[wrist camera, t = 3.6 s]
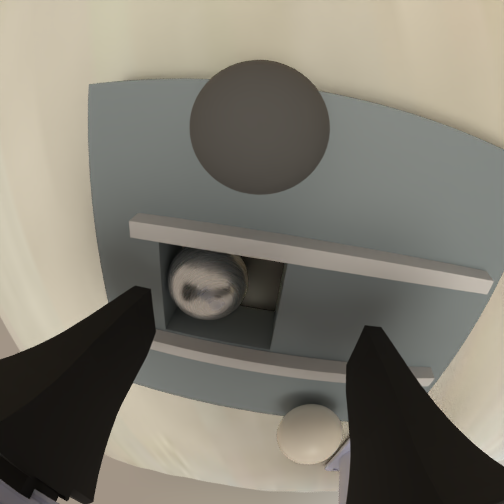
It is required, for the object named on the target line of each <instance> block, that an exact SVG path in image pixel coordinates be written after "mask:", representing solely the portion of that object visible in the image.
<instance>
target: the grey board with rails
mask: <svg viewBox="0 0 504 504" xmlns="http://www.w3.org/2000/svg"><path fill="white" fill-rule="evenodd" d="M209 80H210V79H147V80H130V81H117V82H106V83H97V84H89V94H88V146H89V167H90V182H91V194H92V204H93V213H94V222H95V229H96V237H97V243H98V250H99V256H100V262H101V268H102V273H103V279H104V284H105V289H106V294H107V298H108V303H109V302H111V301H112V300H114V299H115V298H117V297H118V296H120V295H121V294H123V293H124V292H126V291H127V290H129V289H130V288H132V287H133V286H135V285H136V286H140V287H145V288H149V289H151V294H152V303H153V311H154V319H155V327H156V334H155V336H154V339H153V342H152V345H151V347H150V350H149V352H148V355H147V357H146V359H145V361H144V363H143V365H142V367H141V368H140V370H139V372H138V374H137V376H136V378H135V380H134V382H133V383H135V384H138V385H141V386H145V387H148V388H151V389H155V390H158V391H162V392H166V393H169V394H173V395H177V396H181V397H185V398H189V399H193V400H197V401H202V402H206V403H211V404H215V405H220V406H225V407H230V408H236V409H241V410H247V411H253V412H259V413H266V414H273V415H280V416H285V415H286V414H287V413H288V412H289V411H291V410H292V409H294V408H296V407H298V406H301V405H305V404H318V405H322V406H325V407H327V408H329V409H330V410H332V411H333V412H334V413H335V414H336V415H337V417H338V418H339V420H340V421H348V412H347V401H346V364H347V362H348V360H349V358H350V356H351V354H352V352H353V350H354V348H355V346H356V343H357V341H358V339H359V337H360V335H361V332H362V330H363V328H364V326H365V325H368V326H377V327H382V329H383V330H384V332H385V333H386V334H387V336H388V337H389V339H390V340H391V342H392V343H393V345H394V346H395V348H396V349H397V351H398V352H399V354H400V355H401V357H402V358H403V360H404V361H405V363H406V364H407V366H408V367H409V369H410V370H411V372H412V373H413V375H414V376H415V377H416V379H417V380H418V382H419V383H420V384H421V386H422V387H423V388H424V390H425V391H426V392H427V393H428V392H429V391H430V389H431V388H432V387H433V385H434V384H435V383H436V382H437V380H438V379H439V378H440V376H441V375H442V373H443V372H444V371H445V369H446V368H447V367H448V365H449V364H450V362H451V361H452V360H453V358H454V357H455V355H456V354H457V352H458V351H459V349H460V348H461V346H462V345H463V343H464V342H465V340H466V338H467V337H468V335H469V334H470V332H471V331H472V329H473V327H474V326H475V324H476V322H477V321H478V319H479V317H480V315H481V314H482V312H483V310H484V308H485V307H486V305H487V303H488V301H489V299H490V297H491V295H492V294H493V292H494V290H495V288H496V286H497V284H498V282H499V280H500V278H501V276H502V273H503V271H504V150H503V149H501V148H499V147H497V146H495V145H493V144H490V143H488V142H486V141H484V140H481V139H479V138H477V137H474V136H472V135H470V134H467V133H465V132H462V131H460V130H457V129H455V128H452V127H449V126H447V125H444V124H441V123H438V122H435V121H433V120H430V119H427V118H424V117H421V116H418V115H414V114H411V113H408V112H405V111H401V110H398V109H394V108H391V107H387V106H384V105H380V104H376V103H372V102H368V101H364V100H360V99H355V98H351V97H346V96H342V95H337V94H332V93H327V92H321V91H319V93H320V94H321V96H322V98H323V100H324V102H325V105H326V107H327V110H328V115H329V120H330V135H329V141H328V145H327V149H326V151H325V154H324V156H323V158H322V160H321V161H320V163H319V164H318V166H317V167H316V168H315V170H314V171H313V172H312V173H311V174H310V175H309V176H308V177H307V178H306V179H304V180H303V181H302V182H301V183H299V184H297V185H296V186H294V187H292V188H290V189H287V190H285V191H282V192H278V193H274V194H267V195H255V194H247V193H242V192H238V191H235V190H232V189H230V188H228V187H226V186H224V185H223V184H221V183H219V182H218V181H217V180H215V179H214V178H213V177H212V176H211V175H210V174H209V173H208V172H207V171H206V170H205V169H204V168H203V166H202V165H201V164H200V162H199V160H198V159H197V157H196V155H195V152H194V150H193V147H192V143H191V139H190V116H191V111H192V107H193V104H194V102H195V100H196V97H197V96H198V94H199V92H200V91H201V89H202V88H203V87H204V85H205V84H206V83H207V82H208V81H209ZM182 246H185V247H191V248H197V249H203V250H209V251H216V252H222V253H228V254H234V255H240V256H246V257H252V258H258V259H265V260H271V261H277V262H283V263H284V268H283V273H282V278H281V284H280V289H279V294H278V299H277V304H276V309H275V312H274V311H268V310H262V309H256V308H250V307H245V306H238V307H237V308H236V309H235V310H234V311H233V312H232V313H230V314H229V315H227V316H225V317H223V318H220V319H216V320H201V319H196V318H194V317H191V316H189V315H187V314H186V313H184V312H183V311H182V310H181V309H180V308H179V307H178V306H177V305H176V304H175V302H174V301H173V299H172V297H171V295H170V292H169V288H168V271H169V267H170V264H171V262H172V260H173V258H174V257H175V256H176V254H177V253H178V252H179V251H180V250H181V249H182Z"/></svg>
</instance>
